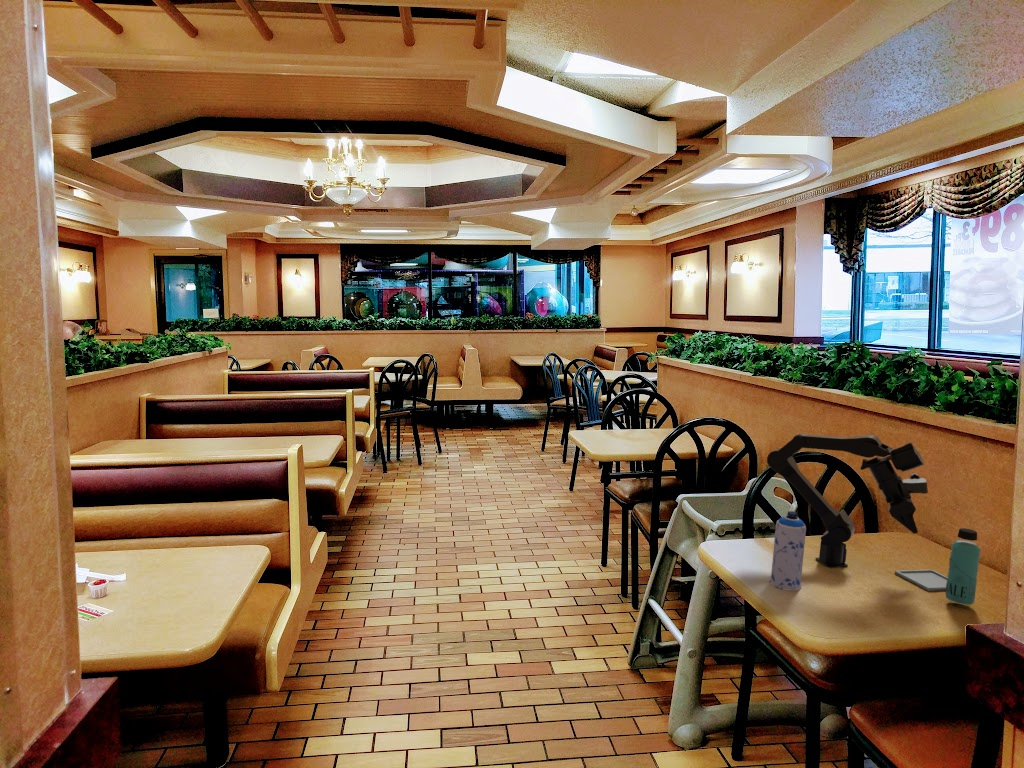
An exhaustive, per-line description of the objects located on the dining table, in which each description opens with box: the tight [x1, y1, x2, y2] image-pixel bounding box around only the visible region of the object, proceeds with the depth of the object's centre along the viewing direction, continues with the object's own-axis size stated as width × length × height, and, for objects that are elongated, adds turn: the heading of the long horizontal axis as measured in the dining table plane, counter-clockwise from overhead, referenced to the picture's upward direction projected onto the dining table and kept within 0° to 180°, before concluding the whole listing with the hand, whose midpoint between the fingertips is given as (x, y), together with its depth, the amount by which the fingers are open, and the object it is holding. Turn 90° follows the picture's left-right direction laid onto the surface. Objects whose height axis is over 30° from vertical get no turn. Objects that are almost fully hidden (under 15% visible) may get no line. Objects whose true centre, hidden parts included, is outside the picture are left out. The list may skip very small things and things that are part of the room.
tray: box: [894, 569, 948, 592], centre depth 191 cm, size 12×12×1 cm
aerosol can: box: [769, 510, 807, 592], centre depth 182 cm, size 8×8×20 cm
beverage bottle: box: [944, 527, 982, 606], centre depth 174 cm, size 6×7×20 cm
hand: (914, 528), depth 191 cm, fingers open, 9 cm apart
